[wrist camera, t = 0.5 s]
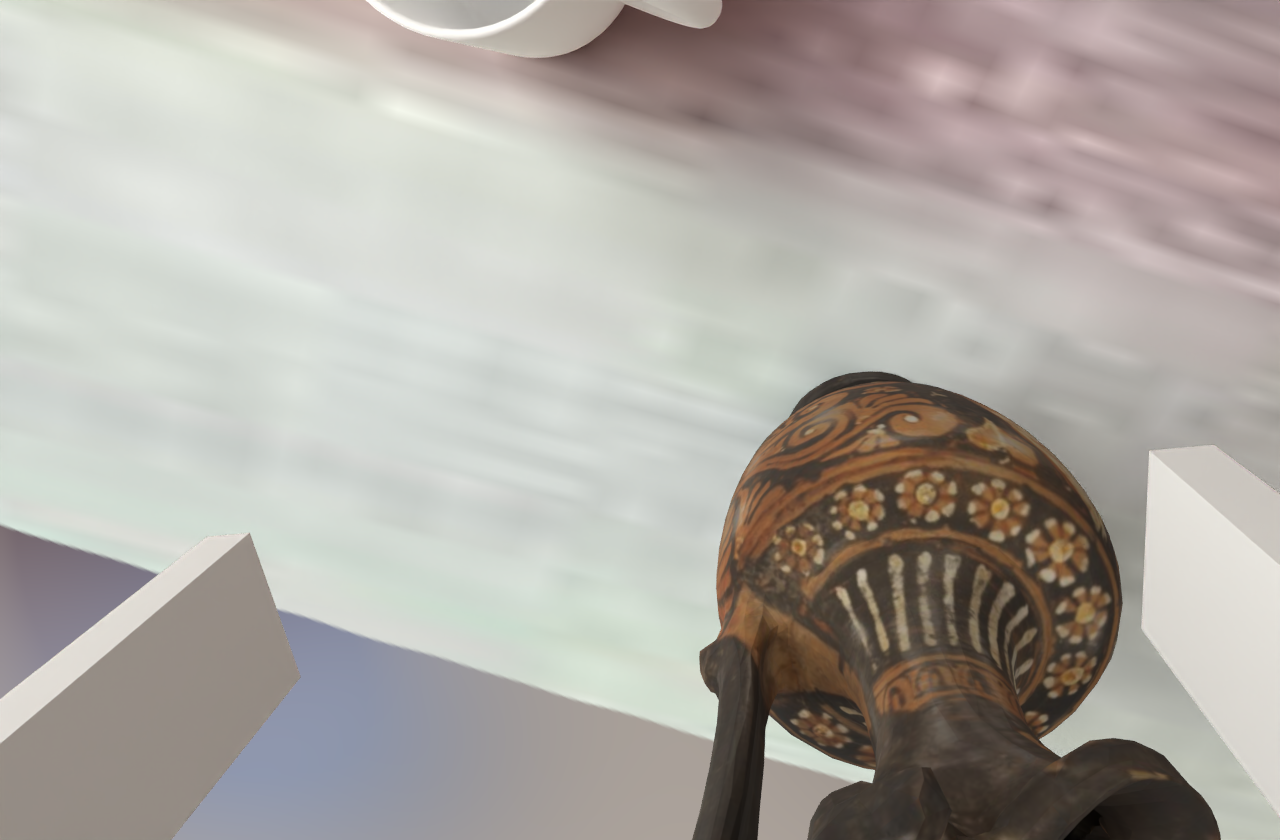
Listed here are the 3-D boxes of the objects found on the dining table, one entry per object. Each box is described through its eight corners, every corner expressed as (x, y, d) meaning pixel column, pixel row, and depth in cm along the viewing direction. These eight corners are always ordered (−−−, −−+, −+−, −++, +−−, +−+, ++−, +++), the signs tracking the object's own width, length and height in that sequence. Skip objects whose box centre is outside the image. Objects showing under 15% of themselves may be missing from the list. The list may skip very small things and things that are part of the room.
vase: (999, 542, 38) (1643, 1695, 10) (729, 566, 41) (669, 1565, 13) (989, 292, 35) (1952, 1052, 7) (693, 333, 37) (494, 1030, 9)
